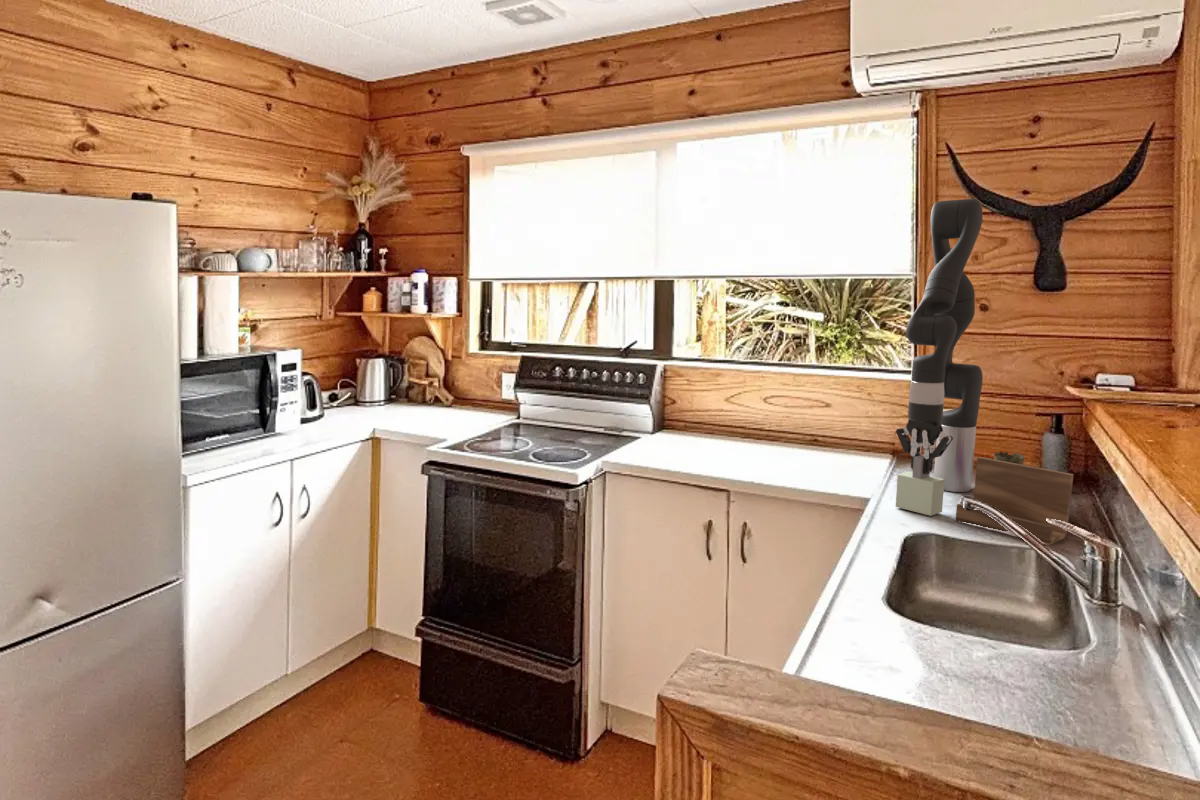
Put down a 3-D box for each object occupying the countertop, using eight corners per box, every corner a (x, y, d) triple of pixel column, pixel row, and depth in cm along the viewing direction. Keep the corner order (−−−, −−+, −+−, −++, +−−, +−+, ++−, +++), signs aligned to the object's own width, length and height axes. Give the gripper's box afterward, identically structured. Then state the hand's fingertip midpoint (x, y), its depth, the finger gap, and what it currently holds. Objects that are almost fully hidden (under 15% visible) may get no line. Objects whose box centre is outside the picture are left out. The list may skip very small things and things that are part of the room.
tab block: (906, 503, 188) (910, 451, 186) (941, 511, 181) (946, 458, 179) (895, 506, 185) (899, 454, 183) (930, 515, 178) (934, 461, 176)
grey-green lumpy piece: (989, 483, 210) (992, 454, 208) (993, 477, 216) (996, 449, 214) (1020, 487, 205) (1022, 458, 204) (1023, 481, 211) (1026, 453, 210)
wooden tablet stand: (974, 514, 181) (979, 456, 179) (1066, 537, 165) (1073, 474, 163) (955, 521, 176) (960, 462, 173) (1048, 545, 160) (1055, 480, 158)
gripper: (963, 402, 176) (957, 476, 179) (907, 395, 187) (903, 464, 190) (946, 406, 172) (940, 481, 174) (890, 398, 182) (885, 469, 185)
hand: (921, 472), depth 182 cm, fingers closed on tab block
